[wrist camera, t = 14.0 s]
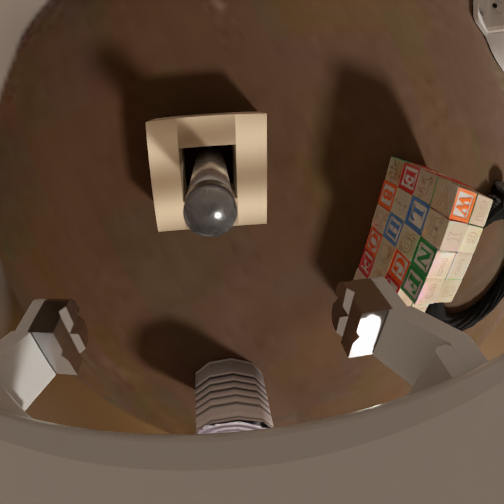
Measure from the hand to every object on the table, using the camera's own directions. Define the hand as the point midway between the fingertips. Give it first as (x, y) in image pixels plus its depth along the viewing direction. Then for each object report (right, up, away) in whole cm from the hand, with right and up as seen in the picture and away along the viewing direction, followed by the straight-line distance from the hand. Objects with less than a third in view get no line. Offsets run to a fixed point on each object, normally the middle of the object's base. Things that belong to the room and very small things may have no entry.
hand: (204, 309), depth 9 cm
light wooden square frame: (-3, +11, +20) cm, 23 cm away
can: (-2, -19, +37) cm, 42 cm away
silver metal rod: (-3, +11, +20) cm, 23 cm away
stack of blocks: (+19, +4, +28) cm, 34 cm away
